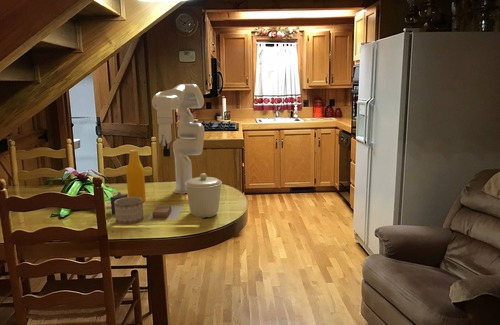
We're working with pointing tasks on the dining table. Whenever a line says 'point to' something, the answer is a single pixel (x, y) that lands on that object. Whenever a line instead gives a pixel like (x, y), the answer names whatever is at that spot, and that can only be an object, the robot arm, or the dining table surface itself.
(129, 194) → the beer bottle
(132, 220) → the planter
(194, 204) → the canister
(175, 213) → the board
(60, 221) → the dining table surface
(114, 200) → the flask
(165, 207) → the slab
